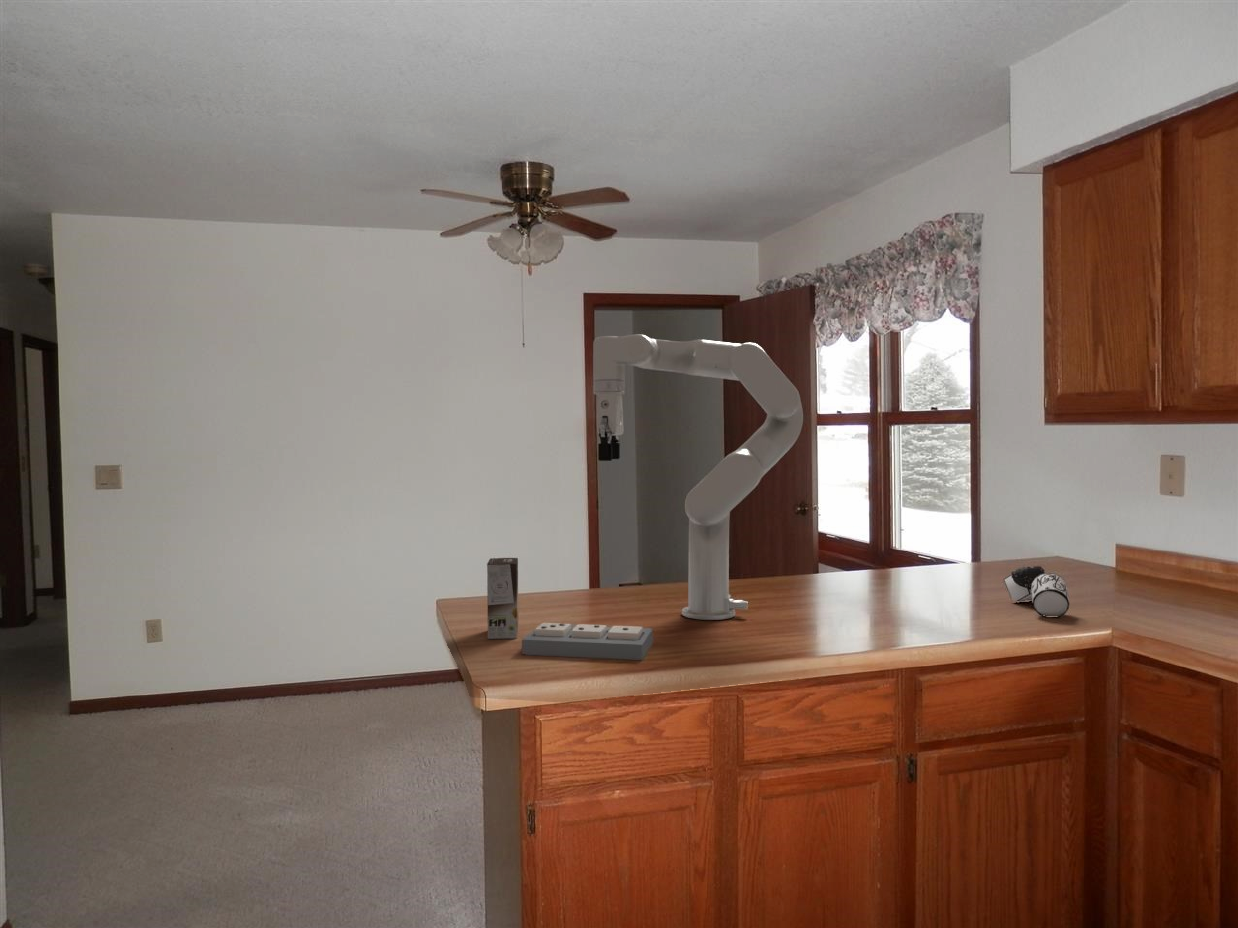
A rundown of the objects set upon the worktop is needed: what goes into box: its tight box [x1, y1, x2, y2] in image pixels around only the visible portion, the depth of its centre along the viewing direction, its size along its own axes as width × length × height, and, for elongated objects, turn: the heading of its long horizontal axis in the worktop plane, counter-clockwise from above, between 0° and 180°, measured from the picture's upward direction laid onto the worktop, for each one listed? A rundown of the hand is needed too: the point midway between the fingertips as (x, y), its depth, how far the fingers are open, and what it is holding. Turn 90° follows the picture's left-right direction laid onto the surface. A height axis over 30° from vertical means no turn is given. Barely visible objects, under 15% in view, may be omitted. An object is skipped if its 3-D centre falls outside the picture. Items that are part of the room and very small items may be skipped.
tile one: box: [608, 625, 644, 640], centre depth 181 cm, size 6×6×2 cm
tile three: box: [534, 622, 572, 637], centre depth 184 cm, size 6×6×2 cm
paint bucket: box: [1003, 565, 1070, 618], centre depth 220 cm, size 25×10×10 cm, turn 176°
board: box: [521, 623, 654, 661], centre depth 182 cm, size 24×14×3 cm, turn 79°
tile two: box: [571, 623, 608, 638], centre depth 182 cm, size 6×6×2 cm
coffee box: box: [486, 557, 519, 640], centre depth 195 cm, size 9×6×16 cm
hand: (609, 459), depth 217 cm, fingers open, 9 cm apart
